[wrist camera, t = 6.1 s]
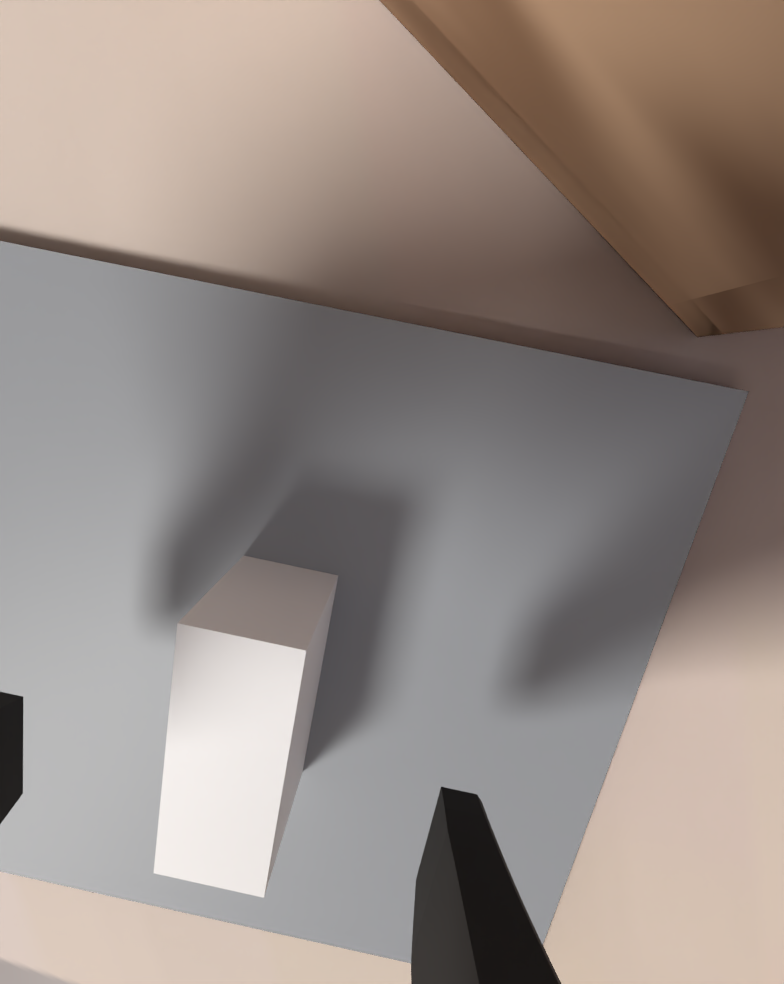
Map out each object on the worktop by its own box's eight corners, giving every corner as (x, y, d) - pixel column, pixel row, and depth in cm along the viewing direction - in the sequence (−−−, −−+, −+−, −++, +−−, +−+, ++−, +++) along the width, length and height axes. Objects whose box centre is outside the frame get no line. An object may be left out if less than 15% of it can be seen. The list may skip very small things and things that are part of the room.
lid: (716, 389, 10) (894, 401, 6) (519, 944, 14) (554, 1159, 10) (-27, 239, 10) (-292, 163, 6) (-17, 825, 14) (-178, 992, 10)
